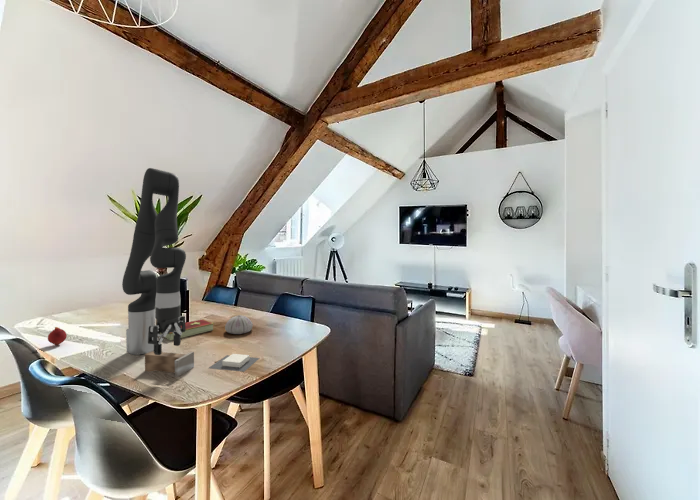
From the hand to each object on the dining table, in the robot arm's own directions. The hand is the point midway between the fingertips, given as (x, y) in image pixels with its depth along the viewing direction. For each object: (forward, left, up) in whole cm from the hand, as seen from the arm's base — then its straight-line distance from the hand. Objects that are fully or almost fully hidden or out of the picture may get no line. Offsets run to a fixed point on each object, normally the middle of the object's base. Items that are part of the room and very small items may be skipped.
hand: (167, 349), depth 106 cm
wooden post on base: (-1, 0, -8) cm, 8 cm away
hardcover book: (-23, +39, -9) cm, 46 cm away
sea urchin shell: (+1, +46, -8) cm, 47 cm away
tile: (+17, +10, -6) cm, 21 cm away
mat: (+20, +10, -8) cm, 24 cm away
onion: (-64, +12, -8) cm, 66 cm away
